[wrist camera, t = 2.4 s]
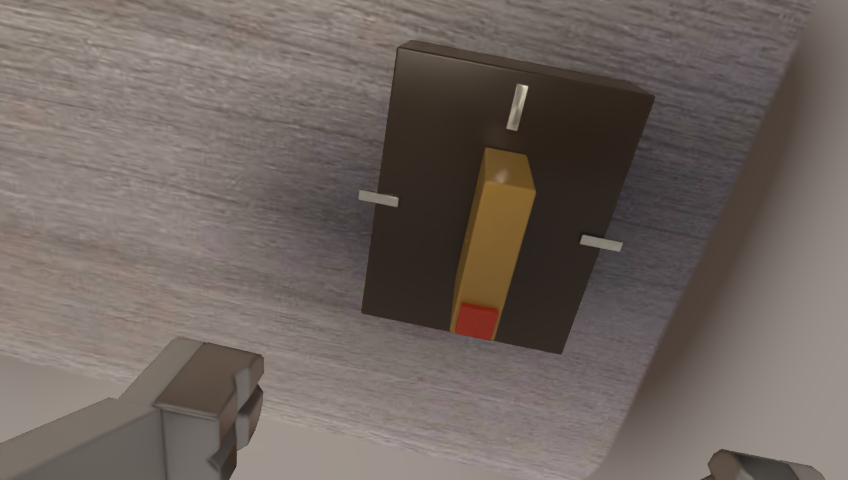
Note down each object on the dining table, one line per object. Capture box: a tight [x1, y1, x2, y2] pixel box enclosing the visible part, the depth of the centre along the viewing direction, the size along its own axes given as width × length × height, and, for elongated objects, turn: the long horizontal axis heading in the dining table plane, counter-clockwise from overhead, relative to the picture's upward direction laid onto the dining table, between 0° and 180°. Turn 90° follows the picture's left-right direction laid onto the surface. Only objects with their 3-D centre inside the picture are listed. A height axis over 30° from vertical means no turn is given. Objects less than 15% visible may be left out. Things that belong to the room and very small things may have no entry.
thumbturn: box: [450, 148, 536, 341], centre depth 16 cm, size 5×1×4 cm, turn 170°
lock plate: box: [358, 40, 655, 354], centre depth 19 cm, size 10×9×3 cm
